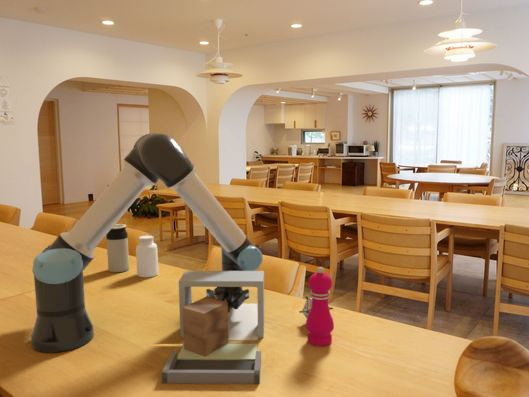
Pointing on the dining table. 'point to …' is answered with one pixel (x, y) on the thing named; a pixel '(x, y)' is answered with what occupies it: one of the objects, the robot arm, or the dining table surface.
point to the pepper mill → (320, 310)
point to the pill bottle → (147, 257)
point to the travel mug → (117, 249)
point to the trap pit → (212, 370)
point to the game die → (308, 307)
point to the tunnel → (239, 320)
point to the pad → (223, 353)
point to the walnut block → (205, 325)
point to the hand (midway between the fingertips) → (221, 315)
